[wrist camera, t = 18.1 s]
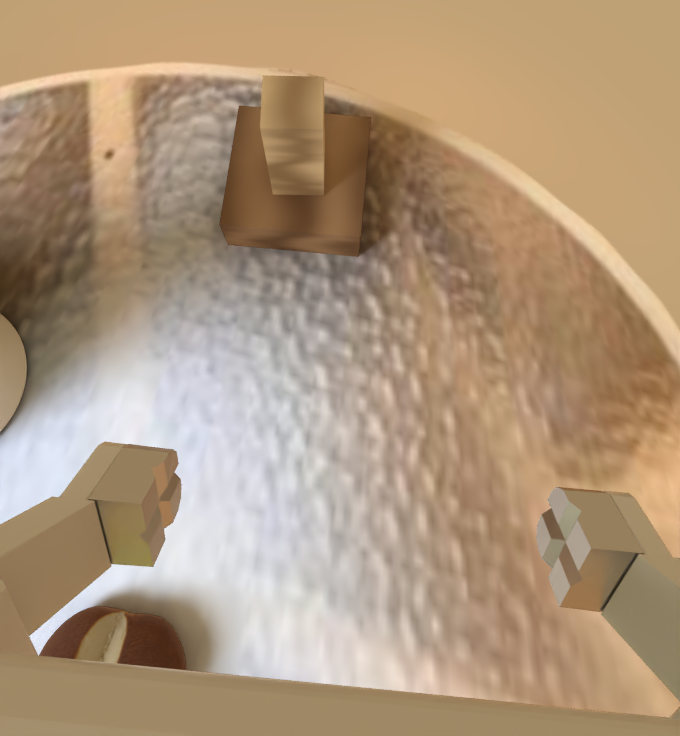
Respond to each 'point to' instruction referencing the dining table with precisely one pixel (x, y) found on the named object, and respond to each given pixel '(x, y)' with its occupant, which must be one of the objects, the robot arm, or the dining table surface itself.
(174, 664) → the bread
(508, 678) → the dining table surface
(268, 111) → the maple block
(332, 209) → the walnut base block
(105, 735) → the robot arm
